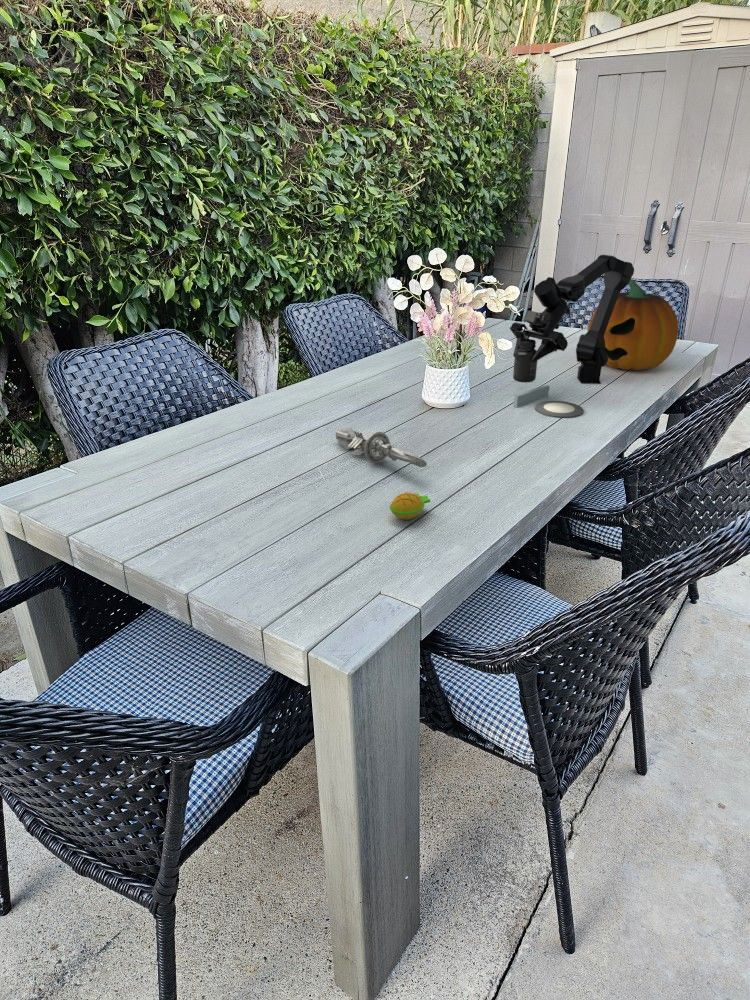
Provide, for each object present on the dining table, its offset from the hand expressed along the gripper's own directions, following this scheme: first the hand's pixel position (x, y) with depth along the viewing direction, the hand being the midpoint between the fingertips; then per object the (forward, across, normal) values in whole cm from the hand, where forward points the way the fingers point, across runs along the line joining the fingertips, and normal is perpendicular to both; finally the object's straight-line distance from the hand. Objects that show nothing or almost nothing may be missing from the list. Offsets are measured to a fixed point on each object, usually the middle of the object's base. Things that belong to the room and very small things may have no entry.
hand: (523, 359), depth 205 cm
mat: (+7, +13, +12) cm, 19 cm away
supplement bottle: (+4, 0, +6) cm, 7 cm away
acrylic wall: (+8, +2, +11) cm, 14 cm away
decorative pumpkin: (-34, -4, +54) cm, 64 cm away
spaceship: (+54, +11, -36) cm, 66 cm away
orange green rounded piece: (+62, +37, -44) cm, 85 cm away
